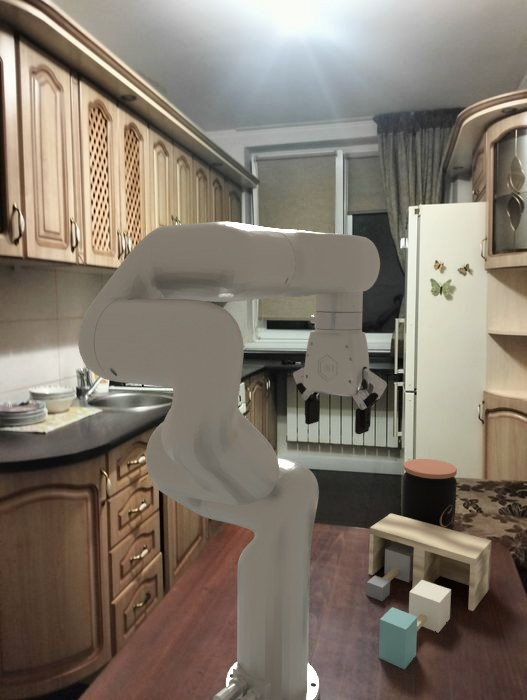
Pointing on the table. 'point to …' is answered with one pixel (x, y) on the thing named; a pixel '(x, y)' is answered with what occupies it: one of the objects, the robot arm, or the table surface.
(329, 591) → the table surface
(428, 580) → the birch shelf
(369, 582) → the grey block
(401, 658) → the teal and white dumbbell
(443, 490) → the coffee jar
